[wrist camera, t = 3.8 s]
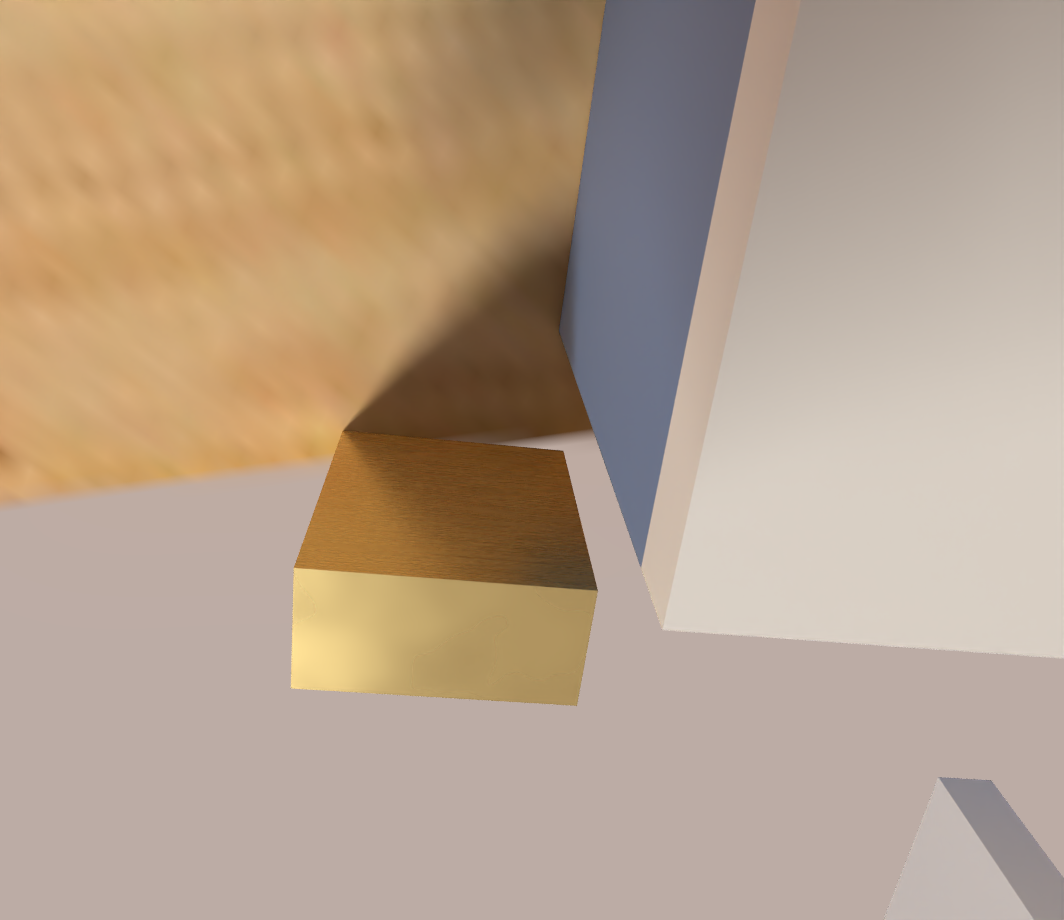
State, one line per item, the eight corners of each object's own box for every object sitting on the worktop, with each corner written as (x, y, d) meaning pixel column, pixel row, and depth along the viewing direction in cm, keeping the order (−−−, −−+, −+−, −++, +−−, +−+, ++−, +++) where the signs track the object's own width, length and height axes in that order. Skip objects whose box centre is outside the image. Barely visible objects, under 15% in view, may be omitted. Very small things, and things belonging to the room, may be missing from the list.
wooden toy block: (338, 525, 21) (290, 688, 15) (342, 430, 20) (293, 567, 14) (549, 542, 21) (576, 705, 16) (563, 450, 20) (598, 590, 15)
